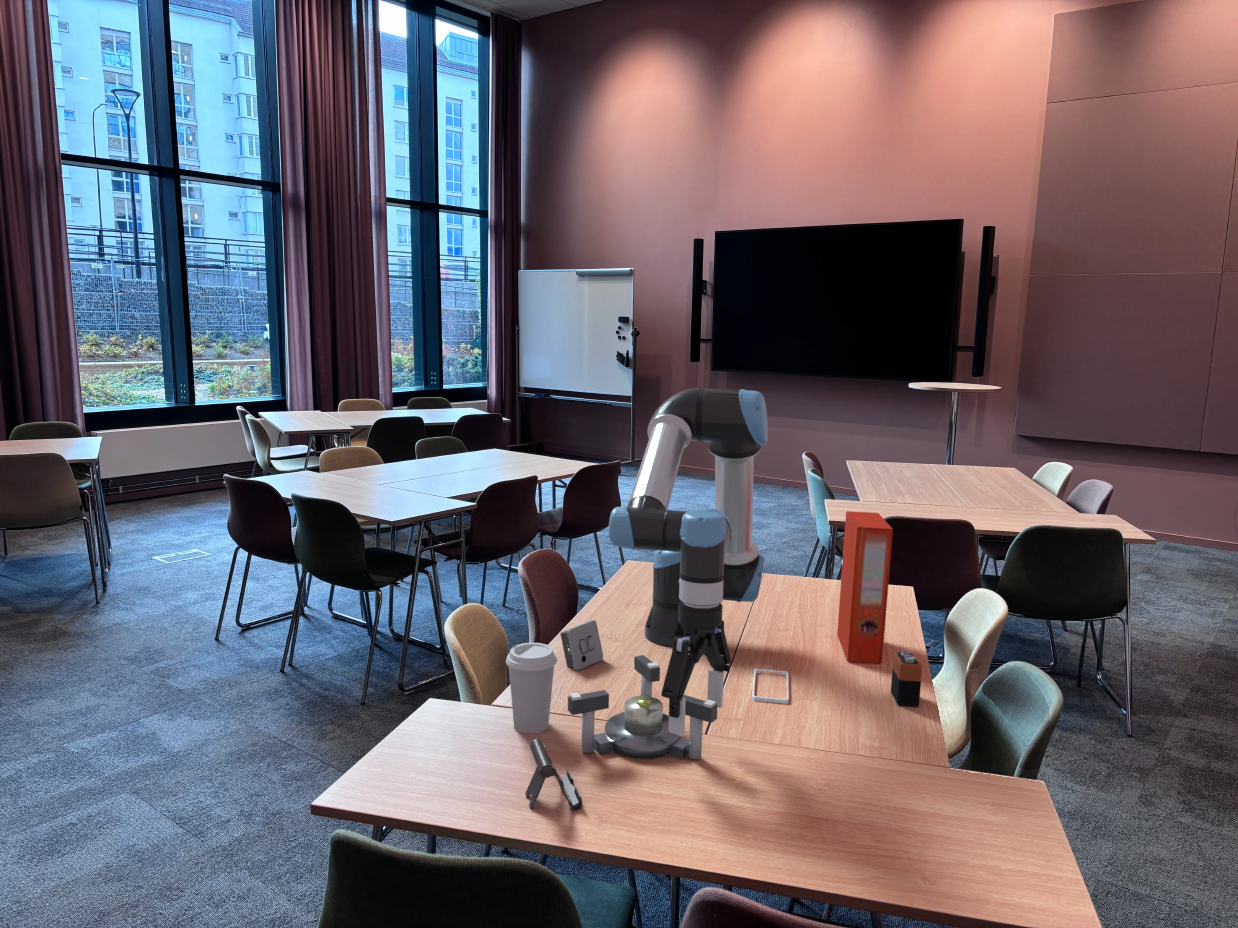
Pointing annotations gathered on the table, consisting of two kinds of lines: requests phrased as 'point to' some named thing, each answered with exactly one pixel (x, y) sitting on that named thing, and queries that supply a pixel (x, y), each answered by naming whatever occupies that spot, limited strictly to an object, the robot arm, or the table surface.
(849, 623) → the file binder
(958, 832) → the table surface
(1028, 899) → the table surface
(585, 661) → the electrical switch
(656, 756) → the levelling base
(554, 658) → the coffee cup
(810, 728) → the table surface
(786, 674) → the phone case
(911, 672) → the battery
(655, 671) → the foot screw
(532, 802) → the portable electronic device stand
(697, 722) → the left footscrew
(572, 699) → the foot screw
